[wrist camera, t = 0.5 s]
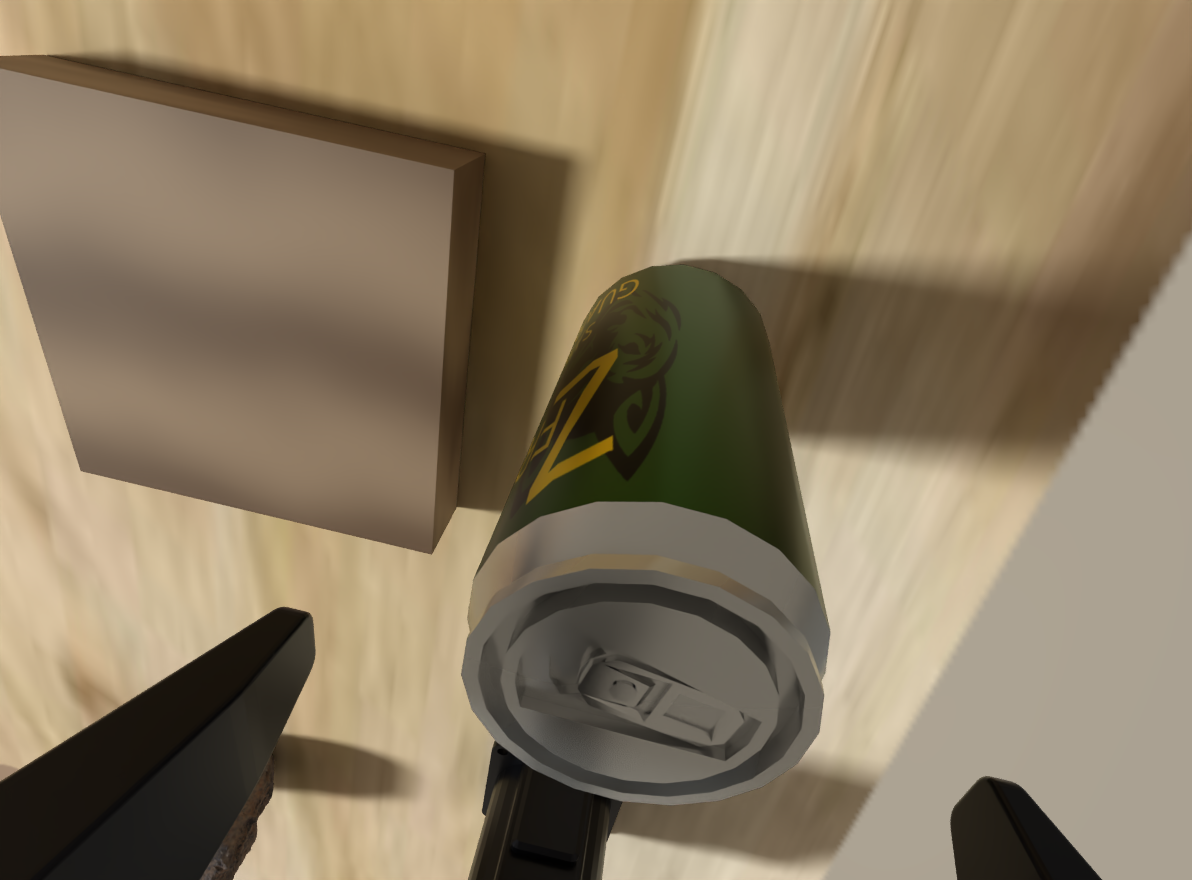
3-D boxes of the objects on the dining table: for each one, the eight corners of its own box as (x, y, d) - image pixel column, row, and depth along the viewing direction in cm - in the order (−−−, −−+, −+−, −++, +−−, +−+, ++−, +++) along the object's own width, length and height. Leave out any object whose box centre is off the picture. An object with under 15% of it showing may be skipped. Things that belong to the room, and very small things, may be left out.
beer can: (804, 303, 18) (935, 656, 8) (714, 452, 21) (723, 851, 11) (623, 223, 17) (509, 486, 7) (557, 386, 20) (408, 737, 10)
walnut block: (456, 507, 23) (431, 554, 21) (136, 432, 24) (80, 470, 21) (485, 153, 17) (454, 170, 15) (43, 55, 17) (-49, 57, 15)
